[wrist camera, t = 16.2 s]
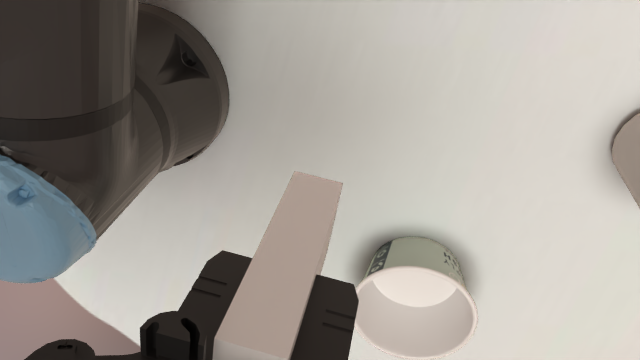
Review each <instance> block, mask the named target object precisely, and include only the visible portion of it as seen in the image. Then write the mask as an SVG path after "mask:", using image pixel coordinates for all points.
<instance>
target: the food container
mask: <svg viewBox="0 0 640 360" xmlns="http://www.w3.org/2000/svg"><path fill="white" fill-rule="evenodd" d="M355 290H356V293H357V296H358V299H359V303H358V309H357V314H356V319H355V324H354V327H355V328H356V330H357V331H358V333H359V334H360V335H361V336H362V337H363V338H364V339H365V340H366V341H367V342H368V343H370V344H371V345H372V346H374V347H375V348H377V349H379V350H381V351H383V352H385V353H387V354H390V355H393V356H396V357H400V358H405V359H412V360H429V359H436V358H440V357H444V356H447V355H450V354H452V353H454V352H456V351H458V350H459V349H461V348H462V347H463V346H464V345H466V344H467V343H468V342H469V340H470V339H471V338H472V336H473V335H474V333H475V331H476V328H477V323H478V312H477V308H476V305H475V302H474V300H473V298H472V297H471V295H470V294H469V293H468V291H467V289H466V286H465V283H464V280H463V277H462V273H461V270H460V267H459V264H458V262H457V260H456V258H455V256H454V255H453V254H452V253H451V252H450V251H449V250H448V249H447V248H446V247H444V246H443V245H441V244H440V243H438V242H436V241H433V240H430V239H427V238H422V237H403V238H398V239H395V240H392V241H390V242H388V243H386V244H385V245H383V246H382V247H381V248H380V249H379V250H378V251H377V252H376V254H375V255H374V257H373V259H372V262H371V264H370V266H369V268H368V270H367V272H366V275H365V277H364V279H363V280H362V281H361V282H360V283H359V284H358V286H357V287H356V288H355Z"/></svg>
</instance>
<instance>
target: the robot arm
mask: <svg viewBox="0 0 640 360" xmlns="http://www.w3.org/2000/svg"><path fill="white" fill-rule="evenodd" d="M228 106H229V92H228V85H227V80H226V76H225V73H224V70H223V68H222V65H221V63H220V61H219V59H218V57H217V55H216V54H215V52H214V51H213V49H212V47H211V46H210V45H209V43H208V42H207V41H206V40H205V39H204V37H203V36H202V35H201V34H200V33H199V32H198V31H197V30H196V29H195V28H194V27H193V26H191V25H190V24H189V23H187V22H186V21H185V20H183V19H182V18H180V17H179V16H177V15H175V14H173V13H171V12H169V11H167V10H165V9H162V8H159V7H156V6H152V5H147V4H140V3H138V0H0V280H2V281H7V282H13V283H36V282H42V281H45V280H47V279H49V278H54V277H57V276H58V275H60V274H61V273H63V272H64V271H66V270H67V269H68V268H69V267H70V266H71V265H73V264H74V263H75V262H76V261H77V260H79V259H80V258H81V257H82V256H83V255H84V254H86V253H88V252H90V250H91V249H92V248H93V247H94V246H95V243H96V241H97V239H98V238H99V237H100V236H101V235H102V234H103V233H104V232H105V231H106V230H107V229H108V227H109V226H110V225H111V224H112V223H113V222H114V221H115V220H116V219H117V218H118V216H119V215H120V214H121V213H122V212H123V211H124V210H125V209H126V208H127V207H128V205H129V204H130V203H131V202H132V201H133V200H134V199H135V198H136V197H137V196H138V194H139V193H140V192H141V191H142V190H143V189H144V188H145V187H146V186H147V185H148V183H149V182H150V181H151V180H152V179H153V178H154V177H155V176H156V175H157V174H158V173H159V172H162V171H164V170H167V169H169V168H171V167H172V166H176V165H180V164H183V163H185V162H188V161H190V160H192V159H194V158H195V157H197V156H198V155H200V154H201V153H202V152H203V151H204V150H206V149H207V147H208V146H209V145H210V144H211V143H212V142H213V140H214V139H215V138H216V137H217V135H218V134H219V133H220V131H221V129H222V127H223V125H224V123H225V120H226V117H227V113H228ZM342 185H343V183H340V182H336V181H332V180H328V179H324V178H320V177H316V176H312V175H308V174H304V173H300V172H296V171H295V172H294V174H293V176H292V178H291V180H290V182H289V184H288V186H287V188H286V190H285V192H284V194H283V197H282V199H281V201H280V203H279V205H278V207H277V209H276V211H275V213H274V215H273V217H272V219H271V221H270V224H269V226H268V228H267V230H266V232H265V234H264V236H263V238H262V240H261V242H260V244H259V246H258V249H257V251H256V253H255V255H254V257H253V258H249V257H245V256H242V255H238V254H234V253H230V252H227V251H223V250H222V251H221V252H220V253H218V254H217V255H215V256H214V257H213V258H211V259H210V260H208V261H207V263H206V264H205V266H204V268H203V270H202V271H201V273H200V275H199V277H198V279H197V280H196V281H195V283H194V285H193V286H192V289H191V291H189V293H188V295H187V297H186V298H185V300H184V302H183V303H182V305H181V307H180V308H179V310H178V311H170V312H164V313H160V314H158V315H156V316H154V317H152V318H150V319H148V320H147V321H146V322H145V323H144V324H143V325H142V326H141V327H140V344H141V352H138V353H135V354H129V355H113V356H111V355H109V356H95V353H94V350H93V349H92V348H91V347H90V346H89V345H87V343H84V342H81V341H78V340H75V339H66V340H64V339H63V340H58V341H54V342H51V343H48V344H46V345H44V346H42V347H41V348H39V349H37V350H36V351H34V352H33V353H32V354H31V355H30V356H28V357H27V358H26V359H24V360H348V356H349V351H350V346H351V340H352V335H353V330H354V324H355V319H356V314H357V309H358V303H359V299H358V296H357V293H356V290H355V287H354V284H350V283H347V282H343V281H339V280H335V279H332V278H328V277H324V276H321V275H320V274H321V271H322V267H323V264H324V261H325V257H326V254H327V250H328V246H329V242H330V237H331V233H332V229H333V224H334V220H335V215H336V211H337V207H338V202H339V198H340V194H341V189H342Z"/></svg>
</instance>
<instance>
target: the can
mask: <svg viewBox="0 0 640 360" xmlns="http://www.w3.org/2000/svg"><path fill="white" fill-rule="evenodd" d="M612 157H613V163H614V165H615V167H616V168H617V170H618V172H619V174H620V175H621V177H622V179H623V180H624V182H625V184H626V186H627V187H628V189H629V191H630V193H631V194H632V196H633V198H634V199H635V201H636V203H637V205H638V206H639V208H640V113H639V114H637V115H635V116H634V117H633V118H632V119H631V120H629V121H628V122H627V123H626V124H625V125H623V127H622V128H621V130H620V131H619V133H618V134H617V136H616V137H615V140H614V144H613V148H612Z"/></svg>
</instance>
